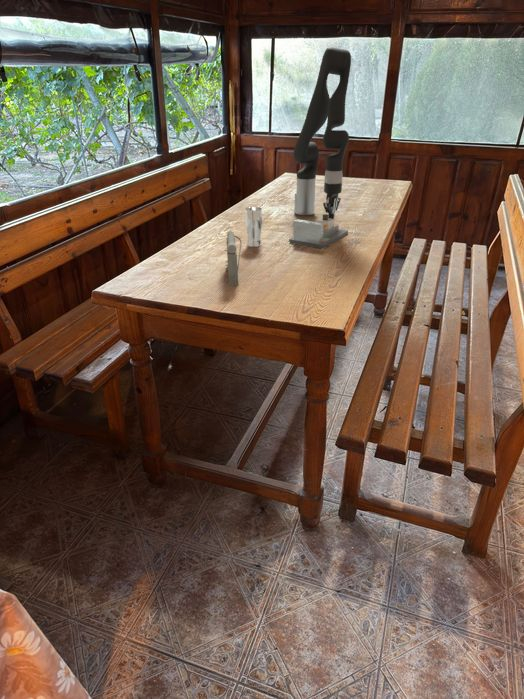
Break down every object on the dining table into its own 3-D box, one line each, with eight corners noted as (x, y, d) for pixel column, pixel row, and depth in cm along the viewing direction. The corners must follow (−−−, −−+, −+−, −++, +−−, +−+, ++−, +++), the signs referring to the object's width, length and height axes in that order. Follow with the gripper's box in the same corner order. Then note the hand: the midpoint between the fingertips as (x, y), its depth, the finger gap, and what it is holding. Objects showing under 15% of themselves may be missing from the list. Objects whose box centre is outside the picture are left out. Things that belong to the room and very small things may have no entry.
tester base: (289, 242, 208) (289, 234, 206) (315, 228, 225) (315, 221, 223) (323, 248, 200) (323, 240, 198) (347, 233, 218) (348, 225, 216)
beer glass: (264, 243, 207) (264, 207, 200) (259, 248, 202) (258, 211, 194) (249, 241, 209) (248, 206, 202) (243, 246, 204) (242, 210, 196)
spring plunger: (315, 231, 215) (315, 215, 211) (321, 228, 219) (322, 212, 215) (327, 233, 212) (328, 217, 208) (333, 230, 216) (334, 214, 213)
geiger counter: (222, 228, 178) (224, 250, 156) (240, 228, 178) (244, 250, 157) (225, 265, 185) (226, 291, 163) (242, 264, 185) (245, 290, 163)
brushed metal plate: (293, 239, 206) (293, 220, 202) (296, 238, 208) (297, 219, 204) (319, 244, 200) (320, 224, 196) (322, 242, 202) (323, 223, 198)
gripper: (332, 177, 217) (329, 217, 226) (318, 183, 208) (316, 223, 216) (347, 179, 214) (345, 219, 222) (334, 184, 204) (331, 226, 213)
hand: (330, 221), depth 219 cm, fingers closed
